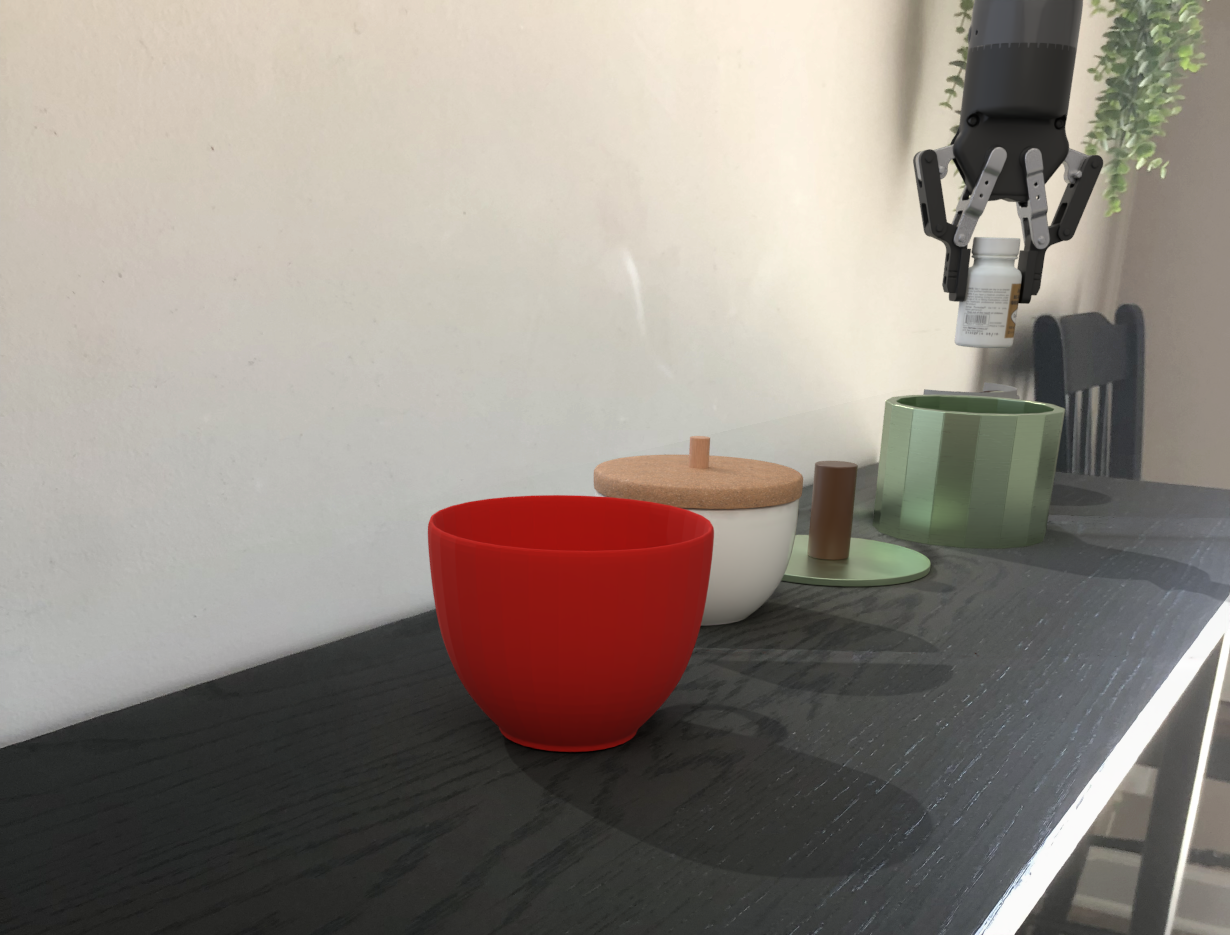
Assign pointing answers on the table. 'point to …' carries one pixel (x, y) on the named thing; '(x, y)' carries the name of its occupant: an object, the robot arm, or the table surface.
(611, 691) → the ceramic cup
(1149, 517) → the table surface
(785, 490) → the lidded bowl
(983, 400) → the tin
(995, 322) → the pill bottle
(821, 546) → the lid
